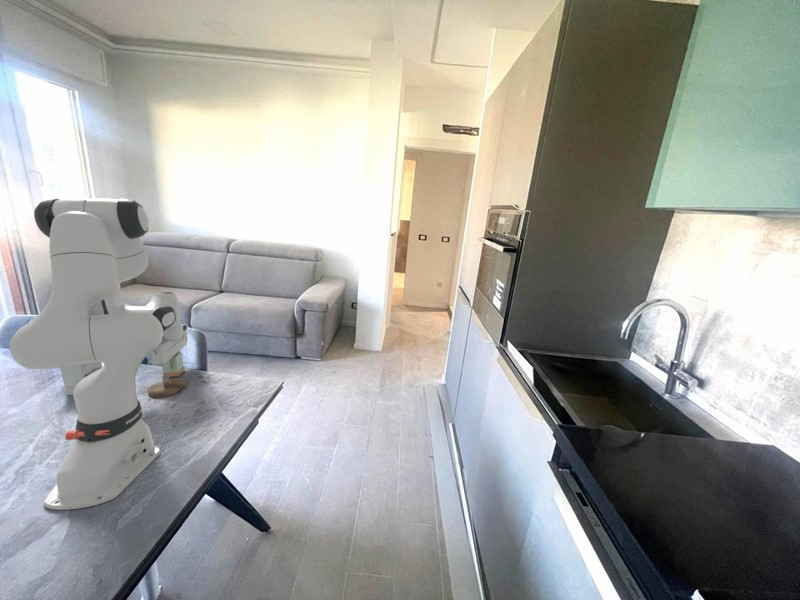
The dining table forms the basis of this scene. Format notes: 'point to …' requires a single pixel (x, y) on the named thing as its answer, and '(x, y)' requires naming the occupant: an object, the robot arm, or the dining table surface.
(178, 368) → the sleeve
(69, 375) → the supplement box
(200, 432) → the dining table surface
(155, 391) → the pin base
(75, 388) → the robot arm
